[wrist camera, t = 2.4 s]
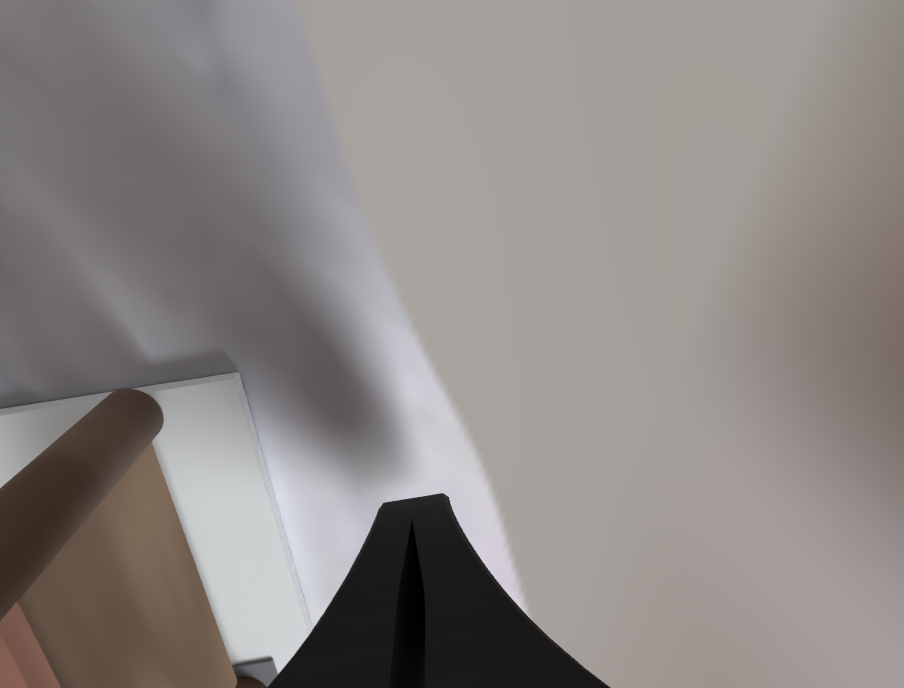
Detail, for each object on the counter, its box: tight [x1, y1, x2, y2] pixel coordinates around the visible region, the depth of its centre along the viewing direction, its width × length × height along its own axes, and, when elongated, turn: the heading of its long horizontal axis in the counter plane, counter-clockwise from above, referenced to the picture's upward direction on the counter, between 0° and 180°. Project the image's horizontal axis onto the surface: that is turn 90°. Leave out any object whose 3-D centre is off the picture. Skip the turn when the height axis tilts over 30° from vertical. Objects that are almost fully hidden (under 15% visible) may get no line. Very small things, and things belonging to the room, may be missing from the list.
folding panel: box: [0, 389, 237, 688], centre depth 10 cm, size 8×1×5 cm, turn 8°
